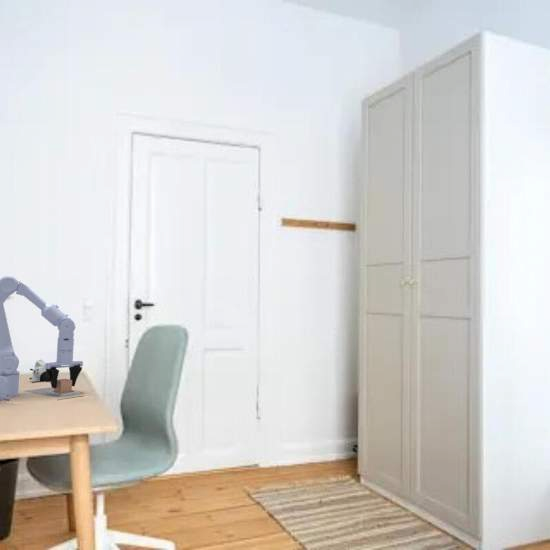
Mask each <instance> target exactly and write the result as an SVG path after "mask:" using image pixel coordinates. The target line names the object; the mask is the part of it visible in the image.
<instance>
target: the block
mask: <svg viewBox="0 0 550 550" xmlns="http://www.w3.org/2000/svg"><path fill="white" fill-rule="evenodd" d="M72 390H73V386H72V380H70V378H59V379H58V378H57V387H56V388H54V392H57V393H67V392H72Z"/></svg>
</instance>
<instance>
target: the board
mask: <svg viewBox="0 0 550 550" xmlns="http://www.w3.org/2000/svg"><path fill="white" fill-rule="evenodd" d="M53 390H54V388H52V387H44V388H36V389H29V390H24V392H25V393H32V394H39V395H45V396H51V397H57V398H59V399H58V401H61V400H63V398H60V397H62V396H57V395H51V394H46V391H53ZM80 394H83V392H81V391H80V393H79V394H78V398H81V397H83V395H81V396H79V395H80ZM74 395H75V394H72V395H71V396H72V397H71V399H75V398H76V396H74ZM66 396H69V395H65V396H64V397H66ZM66 399H70V397H66V398H64V400H66Z"/></svg>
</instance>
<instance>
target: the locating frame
mask: <svg viewBox="0 0 550 550" xmlns="http://www.w3.org/2000/svg"><path fill="white" fill-rule="evenodd" d="M80 392H81V391H80V390H74V389H72V392H67V393H57V392H54V390H53V391H46V394H51V395H57V396H61V397H66V396H65V395H68V396H73V395H72V394H74V395H80V394H79V393H80Z"/></svg>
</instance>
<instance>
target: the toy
mask: <svg viewBox="0 0 550 550" xmlns="http://www.w3.org/2000/svg"><path fill="white" fill-rule="evenodd" d="M45 363H46V362H45V361H44V360H43V359H38V360H36V362H35V363H34V364H35V365H34V368H30V369H29V370H30V371H32V376H31V377H29V380H31V383H44V382H45V383H51V381H50V378H49V375H48V373H47V372H46V368H45Z"/></svg>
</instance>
